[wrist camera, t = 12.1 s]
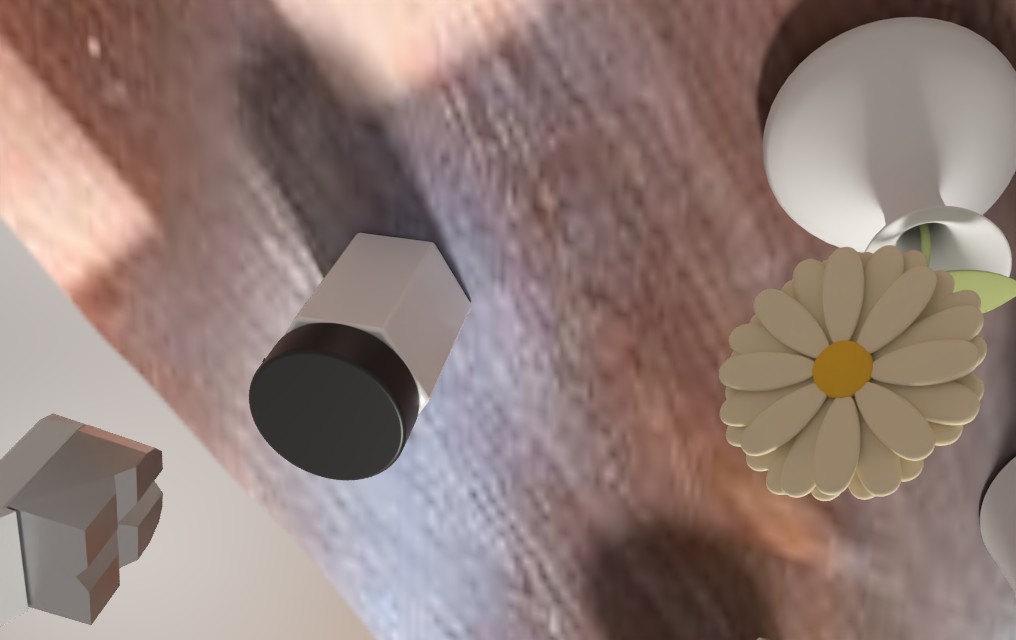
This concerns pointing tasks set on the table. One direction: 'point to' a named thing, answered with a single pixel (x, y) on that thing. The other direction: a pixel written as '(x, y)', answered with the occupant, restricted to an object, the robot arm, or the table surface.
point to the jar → (360, 358)
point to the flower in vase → (877, 259)
